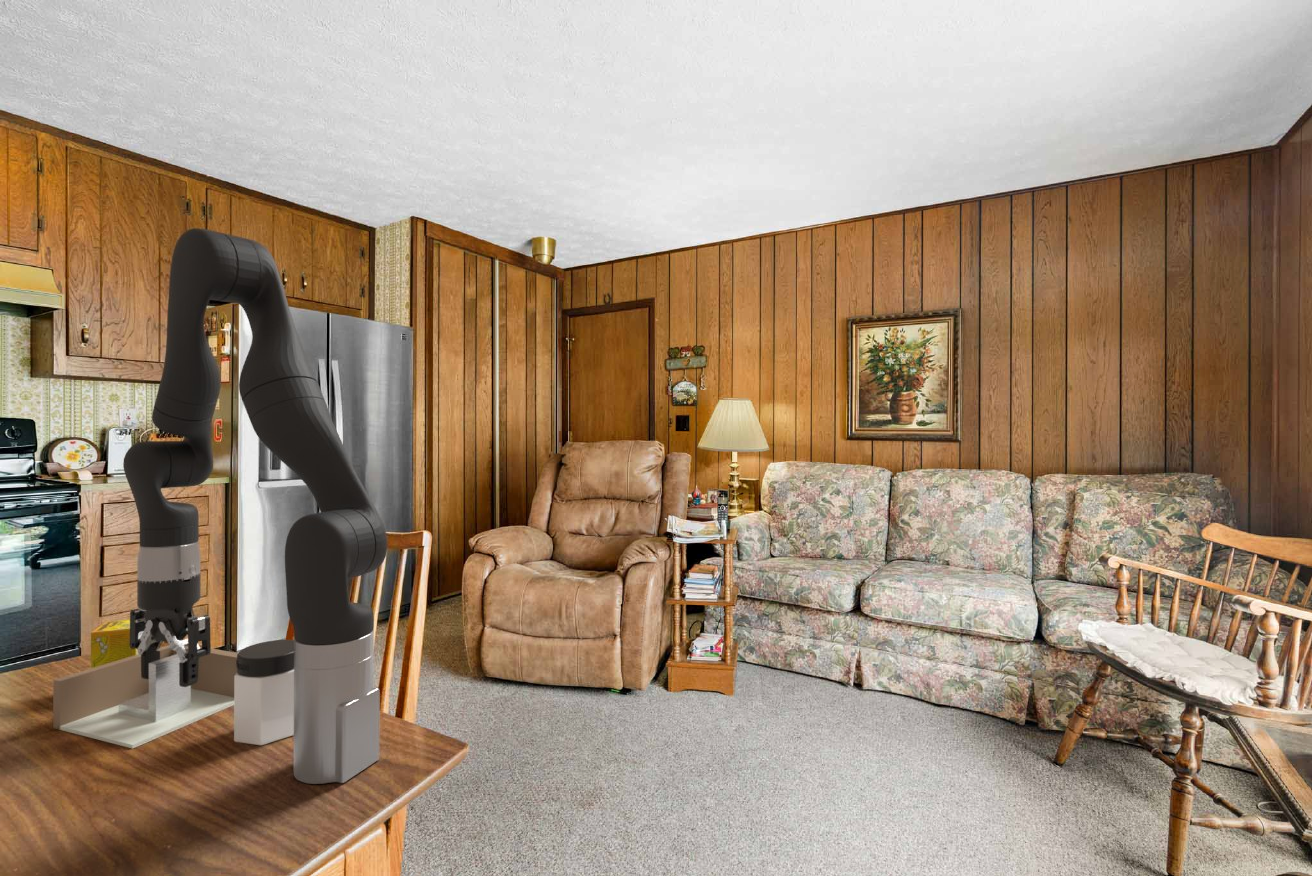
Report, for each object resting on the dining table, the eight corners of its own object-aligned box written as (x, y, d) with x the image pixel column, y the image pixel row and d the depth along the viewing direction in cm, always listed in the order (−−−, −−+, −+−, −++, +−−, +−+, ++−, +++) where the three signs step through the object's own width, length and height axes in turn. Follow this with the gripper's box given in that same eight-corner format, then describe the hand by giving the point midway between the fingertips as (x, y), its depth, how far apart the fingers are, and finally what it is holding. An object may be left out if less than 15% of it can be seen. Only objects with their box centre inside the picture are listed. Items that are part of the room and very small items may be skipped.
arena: (249, 698, 101) (250, 655, 101) (132, 748, 85) (132, 697, 85) (176, 683, 106) (176, 642, 106) (53, 728, 90) (53, 680, 90)
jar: (248, 720, 93) (248, 641, 93) (309, 714, 95) (309, 636, 95) (226, 750, 84) (226, 662, 84) (293, 742, 87) (294, 656, 87)
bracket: (190, 707, 96) (190, 653, 96) (155, 722, 91) (155, 664, 91) (154, 700, 98) (154, 646, 98) (118, 713, 94) (118, 657, 94)
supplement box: (103, 686, 105) (103, 621, 105) (148, 680, 107) (148, 617, 107) (89, 700, 99) (89, 632, 99) (136, 693, 102) (136, 627, 102)
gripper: (109, 574, 92) (109, 684, 93) (176, 583, 88) (176, 698, 88) (163, 564, 99) (163, 666, 100) (228, 572, 95) (228, 678, 95)
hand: (169, 681), depth 94 cm, fingers open, 8 cm apart
